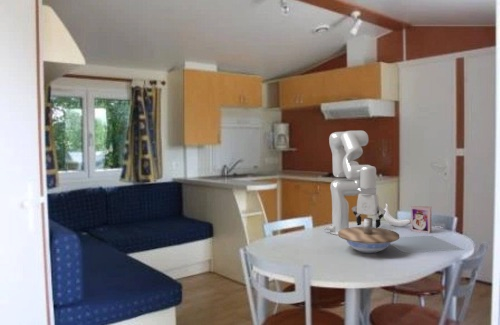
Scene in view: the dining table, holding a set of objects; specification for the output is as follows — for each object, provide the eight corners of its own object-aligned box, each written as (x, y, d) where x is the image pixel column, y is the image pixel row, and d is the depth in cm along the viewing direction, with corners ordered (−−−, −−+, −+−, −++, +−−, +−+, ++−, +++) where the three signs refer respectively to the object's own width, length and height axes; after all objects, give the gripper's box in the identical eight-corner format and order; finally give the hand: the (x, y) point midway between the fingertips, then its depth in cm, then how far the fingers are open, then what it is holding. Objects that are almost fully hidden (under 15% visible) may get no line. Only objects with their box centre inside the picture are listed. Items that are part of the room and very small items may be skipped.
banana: (410, 229, 262) (410, 205, 261) (381, 225, 275) (381, 202, 275) (413, 227, 266) (413, 204, 265) (384, 224, 279) (384, 201, 278)
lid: (348, 244, 196) (348, 226, 196) (331, 229, 225) (331, 213, 225) (410, 242, 199) (410, 224, 198) (384, 227, 228) (385, 212, 227)
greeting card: (410, 231, 256) (410, 206, 255) (416, 229, 261) (416, 204, 260) (429, 234, 248) (429, 208, 247) (434, 232, 253) (435, 206, 252)
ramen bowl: (357, 260, 198) (357, 242, 198) (334, 248, 220) (334, 232, 220) (404, 255, 205) (404, 238, 204) (378, 244, 227) (377, 228, 226)
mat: (403, 253, 208) (403, 252, 208) (378, 238, 239) (378, 237, 239) (464, 250, 211) (464, 249, 211) (432, 236, 242) (432, 235, 242)
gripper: (348, 191, 213) (348, 225, 214) (382, 193, 202) (382, 229, 203) (355, 189, 219) (355, 222, 220) (388, 191, 208) (388, 226, 209)
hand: (368, 226), depth 212 cm, fingers open, 9 cm apart
